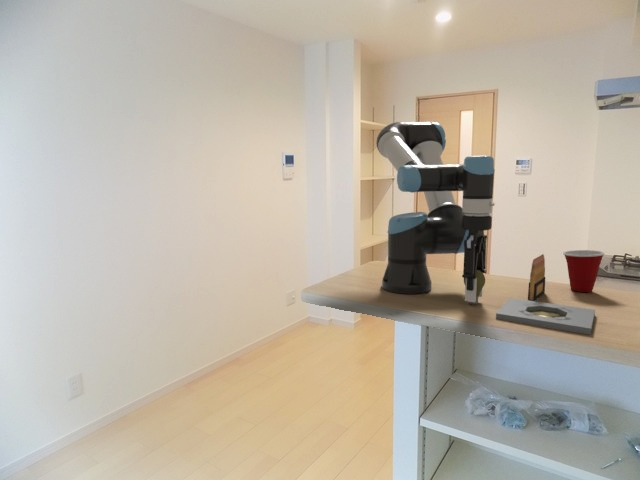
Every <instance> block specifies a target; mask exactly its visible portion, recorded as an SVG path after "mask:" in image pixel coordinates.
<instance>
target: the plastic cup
mask: <svg viewBox="0 0 640 480" xmlns="http://www.w3.org/2000/svg"><path fill="white" fill-rule="evenodd" d="M562 254H563V255H564V257H565V260H566V266H567V271H568V272H567V273H568V279H569V286H570V290H572V291H575V292H579V293H580V292H581V293H591V292H593V290H594V287H595V283H596V281H597V278H598V277H597V276H598V273H599V269H600V266H601V262H602V260H603V257H604V255H605V252H604V251H599V250H590V249H589V250H588V249H585V250H581V249H580V250H567V251H563V252H562Z"/></svg>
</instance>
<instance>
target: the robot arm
mask: <svg viewBox="0 0 640 480" xmlns="http://www.w3.org/2000/svg"><path fill="white" fill-rule="evenodd" d="M446 141H447V140H446V133H445V129H444V127H443V126H442V125H441V124H440V123H438V122H435V121H396V122H392V123H389V124H387V125H386V126H384V127H383V128H382V129H381V130H380V132H379V133H378V135H377V137H376V143H375V144H376V148H377V151H378V152H379V154H380V156H382V157H384V158H386V159H388V161H389V162H390V164H391V165H392V166H393V168H394V169H395V170H396V171H397V173H396V183H397V188H398V190H399V191H401V192H404V193H405V192H406V193H424V197H425V200H426V204H427V208H428V211H429V212H428V214H427V213H426V212H425V211H417V212H413V211H412V212H407V213H400V214H396V215H393V216H391V217H390V218H389V220H388V225H387V226H388V228H387V264H386V268H385V270H384V273H383V274H384V275H383V276H382V282H381V284H382V285H381V287H382V289H383V290H385V291H387V292H390V293H394V294H395V293H396V294H403V295H405V294H406V295H410V294H411V295H412V294H424V293H427V292H429V291H431V290H432V279H431V275H430V273H429V270H428V266H427V255H442V254H443V255H444V254H445V255H446V254H455V255H457V254H462V253H463V256H464V257H463V268H462V269H463V271H462V272H463V273H462V275H461V276H462V278H463V279H464V278H466V285H465V284H464V285H465V287H464V288H465V291H464V292H465V294H464V302H468V303H469V302H476V287H477V278H476V270H479V271H481V272H482V273H483V274H487V269H486V268H487V267H486V264H487V262H486V261H487V260H486V259H487V239H488V234H485V231H490V230H491V229H492V227H493V226H492V222H493V216H492V215H491V214H492V213H493V207H494V206H495V204H496V203H495V202H493V198H494V197H493V195H494V182H495V181H494V179H495V160H494V159H495V158H494V157H493V156H491V155H470V156H466V157H464V160H463V163H462V164H458V163H457V164H443V161H442V157H441V156H442V154H443V152H444V150H445V147H446ZM453 192H462V206H460V205H459V204H456V200H455V198H454V195H453ZM482 297H483V289H482V290H481V292H480V295H479V297H478V298H482Z"/></svg>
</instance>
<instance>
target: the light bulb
mask: <svg viewBox="0 0 640 480" xmlns="http://www.w3.org/2000/svg"><path fill="white" fill-rule="evenodd" d="M476 278H477V287H476V302H468V303H469V304H470V305H474V306H475V305H477V304H479V298H480V297H479V295H480V292H481V290H482V291H483V288H484V286H485V283H486V276H485V273H482V272H481V271H479V270H476ZM463 284H464V285H466V278H463Z"/></svg>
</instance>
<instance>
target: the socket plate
mask: <svg viewBox="0 0 640 480" xmlns="http://www.w3.org/2000/svg"><path fill="white" fill-rule="evenodd" d="M595 317H596V309H592V308H586V307H578V306H572V305H571V306H570V305H564V304H555V303H551V302H541V301H537V300H536V301H531V300H528V299H521V298H513V297H510V298H508V300H507V301H506V302H505V303H504V304H503V305H502V306H501V308H499V310H498V311H497V312H496V313H495V319H498V320H503V321H508V322H515V323H519V324H526V325H530V326H536V327H541V328H548V329H553V330H559V331H565V332H571V333H577V334H583V335H589V336H591V334H592V330H593V329H592V328H593V325H594V320H595Z"/></svg>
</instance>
